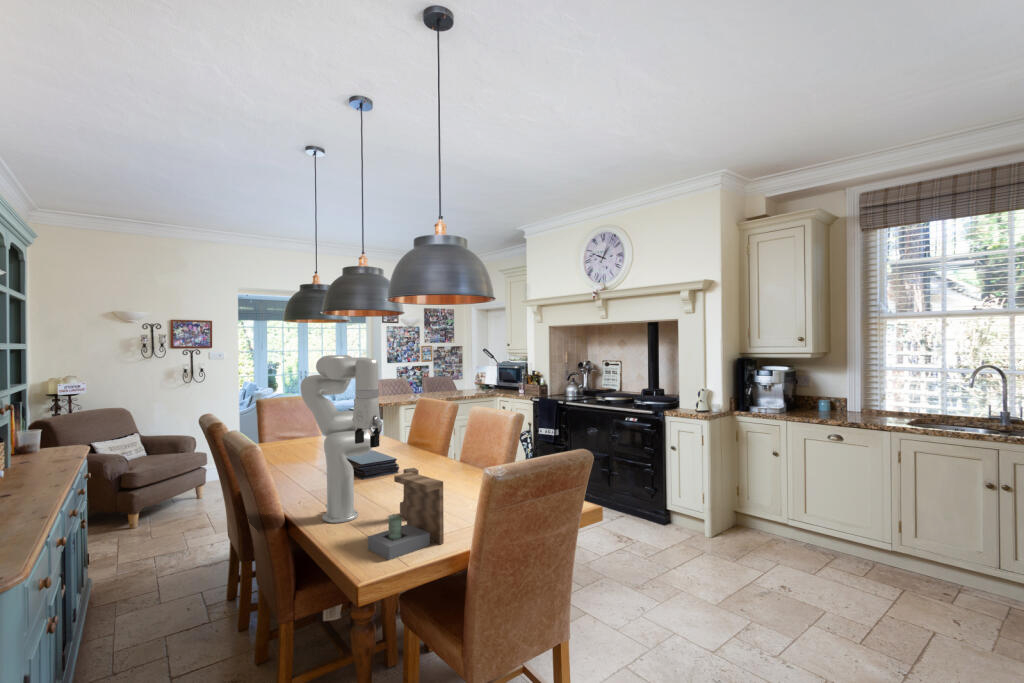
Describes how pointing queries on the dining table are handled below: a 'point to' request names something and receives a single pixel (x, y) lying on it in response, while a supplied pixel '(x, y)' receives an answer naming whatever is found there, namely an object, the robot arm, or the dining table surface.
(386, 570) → the dining table surface
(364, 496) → the dining table surface
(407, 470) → the wooden block
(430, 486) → the brown notched wall
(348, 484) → the robot arm
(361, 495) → the dining table surface
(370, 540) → the socket block
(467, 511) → the dining table surface
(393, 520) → the peg
